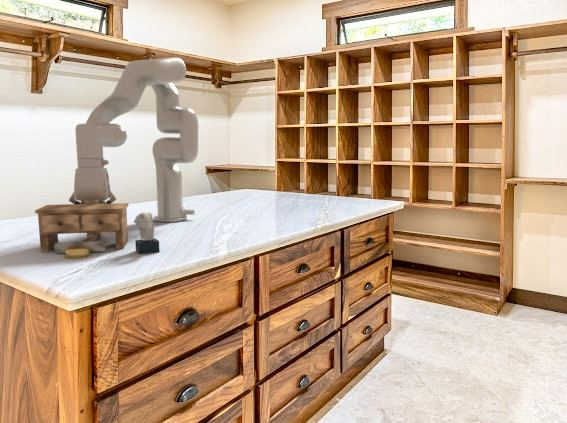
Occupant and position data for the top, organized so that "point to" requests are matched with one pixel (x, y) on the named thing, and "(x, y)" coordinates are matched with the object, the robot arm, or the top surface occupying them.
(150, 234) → the watch
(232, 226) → the top surface
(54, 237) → the cabinet
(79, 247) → the brass token
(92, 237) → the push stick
